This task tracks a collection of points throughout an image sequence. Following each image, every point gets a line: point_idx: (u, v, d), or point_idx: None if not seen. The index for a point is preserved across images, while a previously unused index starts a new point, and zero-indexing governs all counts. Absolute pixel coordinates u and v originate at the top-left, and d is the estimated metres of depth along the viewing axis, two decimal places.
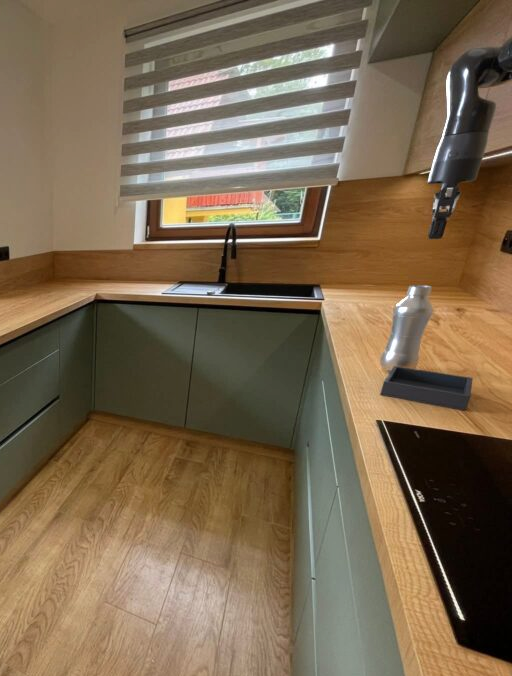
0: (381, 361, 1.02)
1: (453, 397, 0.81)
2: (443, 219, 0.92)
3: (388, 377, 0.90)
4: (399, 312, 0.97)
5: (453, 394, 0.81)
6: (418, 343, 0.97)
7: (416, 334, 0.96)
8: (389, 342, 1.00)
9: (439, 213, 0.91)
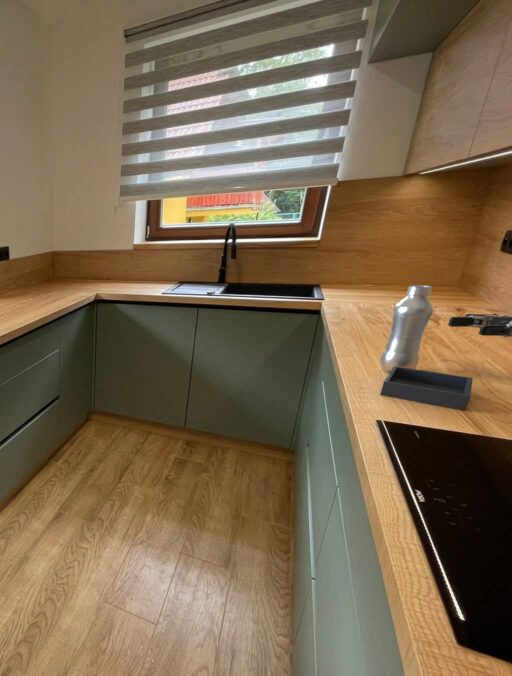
0: (381, 361, 1.02)
1: (453, 397, 0.81)
2: (508, 333, 0.90)
3: (388, 377, 0.90)
4: (399, 312, 0.97)
5: (453, 394, 0.81)
6: (418, 343, 0.97)
7: (416, 334, 0.96)
8: (389, 342, 1.00)
9: None
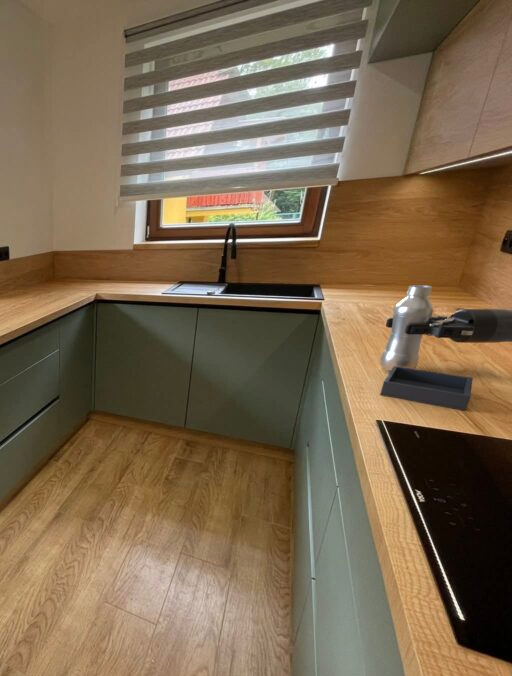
0: (381, 361, 1.02)
1: (453, 397, 0.81)
2: (431, 332, 0.94)
3: (388, 377, 0.90)
4: (399, 312, 0.97)
5: (453, 394, 0.81)
6: (418, 343, 0.97)
7: (416, 334, 0.96)
8: (389, 342, 1.00)
9: (444, 329, 0.92)
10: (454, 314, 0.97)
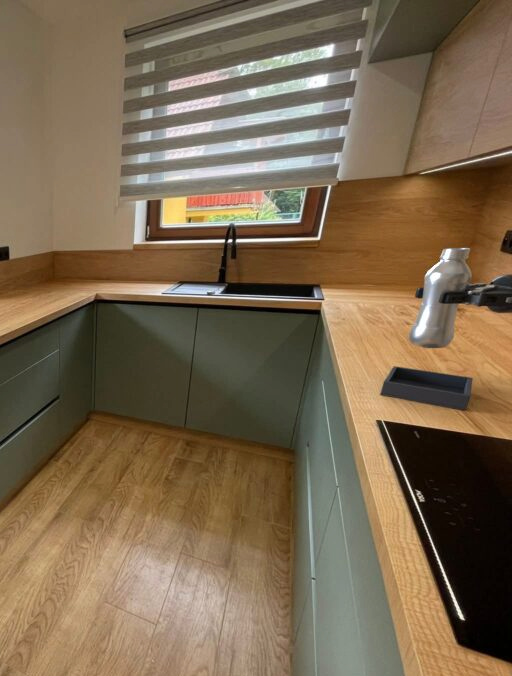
0: (410, 336, 0.90)
1: (453, 397, 0.81)
2: (470, 300, 0.82)
3: (388, 377, 0.90)
4: (432, 278, 0.85)
5: (453, 394, 0.81)
6: (454, 314, 0.85)
7: (452, 304, 0.84)
8: (420, 314, 0.88)
9: (486, 297, 0.80)
10: (494, 281, 0.86)
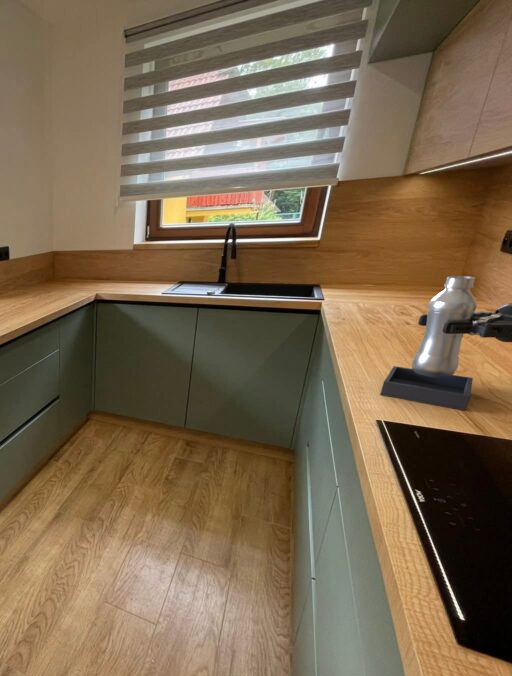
0: (413, 365, 0.88)
1: (453, 397, 0.81)
2: (475, 331, 0.80)
3: (388, 377, 0.90)
4: (435, 307, 0.83)
5: (453, 394, 0.81)
6: (458, 344, 0.83)
7: None
8: (423, 343, 0.86)
9: (491, 328, 0.78)
10: (500, 309, 0.83)
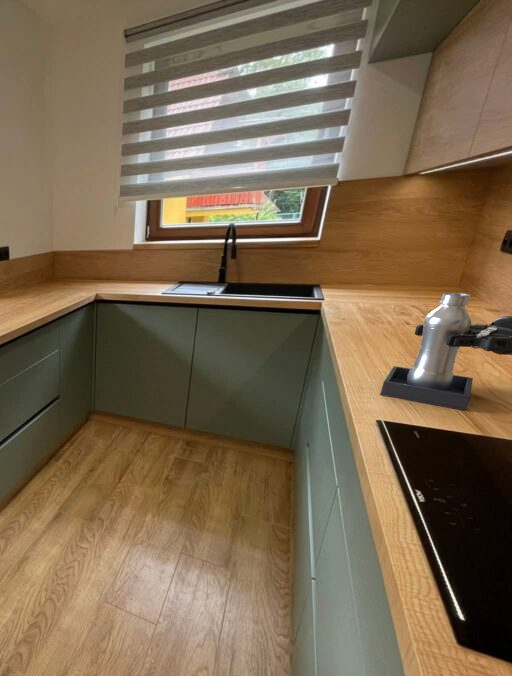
0: (408, 379, 0.89)
1: (453, 397, 0.81)
2: (479, 344, 0.79)
3: (388, 377, 0.90)
4: (431, 323, 0.84)
5: (453, 394, 0.81)
6: (453, 360, 0.84)
7: (451, 349, 0.83)
8: (418, 358, 0.88)
9: (495, 341, 0.78)
10: (495, 322, 0.84)
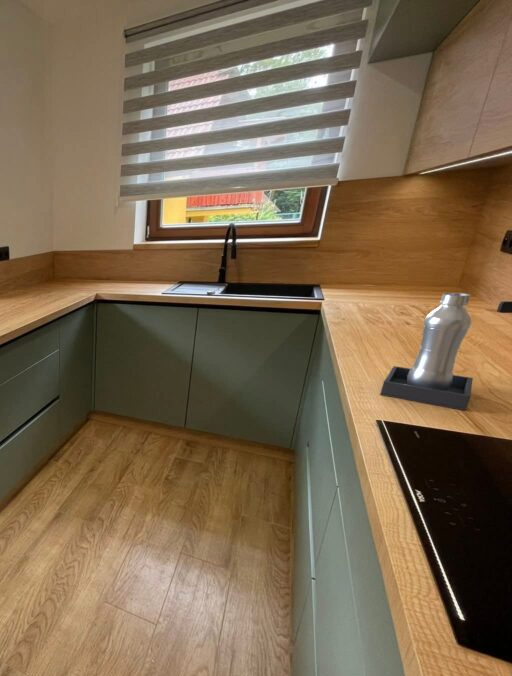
0: (408, 379, 0.89)
1: (453, 397, 0.81)
2: None
3: (388, 377, 0.90)
4: (431, 323, 0.84)
5: (453, 394, 0.81)
6: (453, 360, 0.84)
7: (451, 349, 0.83)
8: (418, 358, 0.88)
9: None
10: None
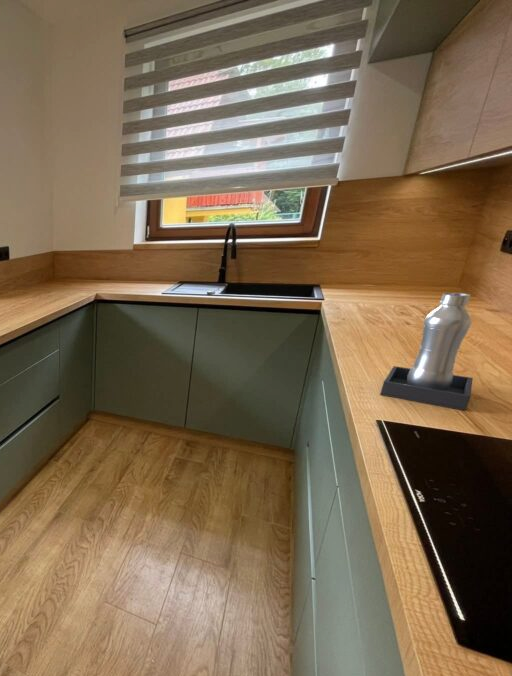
0: (408, 379, 0.89)
1: (453, 397, 0.81)
2: None
3: (388, 377, 0.90)
4: (431, 323, 0.84)
5: (453, 394, 0.81)
6: (453, 360, 0.84)
7: (451, 349, 0.83)
8: (418, 358, 0.88)
9: None
10: None
